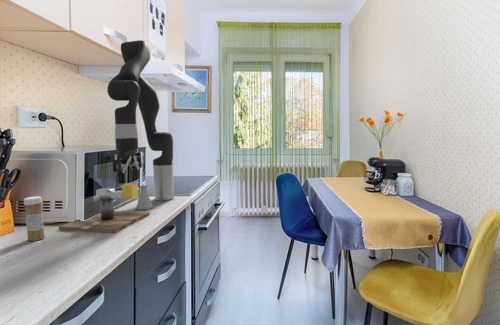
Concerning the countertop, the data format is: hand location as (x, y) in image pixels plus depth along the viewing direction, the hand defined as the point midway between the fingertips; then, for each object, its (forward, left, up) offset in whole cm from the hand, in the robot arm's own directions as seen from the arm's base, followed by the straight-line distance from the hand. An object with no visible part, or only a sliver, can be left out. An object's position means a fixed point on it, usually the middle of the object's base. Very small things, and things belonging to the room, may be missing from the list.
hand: (128, 181), depth 111 cm
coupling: (0, -5, -6) cm, 8 cm away
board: (0, -10, -15) cm, 18 cm away
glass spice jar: (0, -10, -14) cm, 17 cm away
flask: (-21, -7, -16) cm, 27 cm away
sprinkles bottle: (+20, -21, -16) cm, 33 cm away
